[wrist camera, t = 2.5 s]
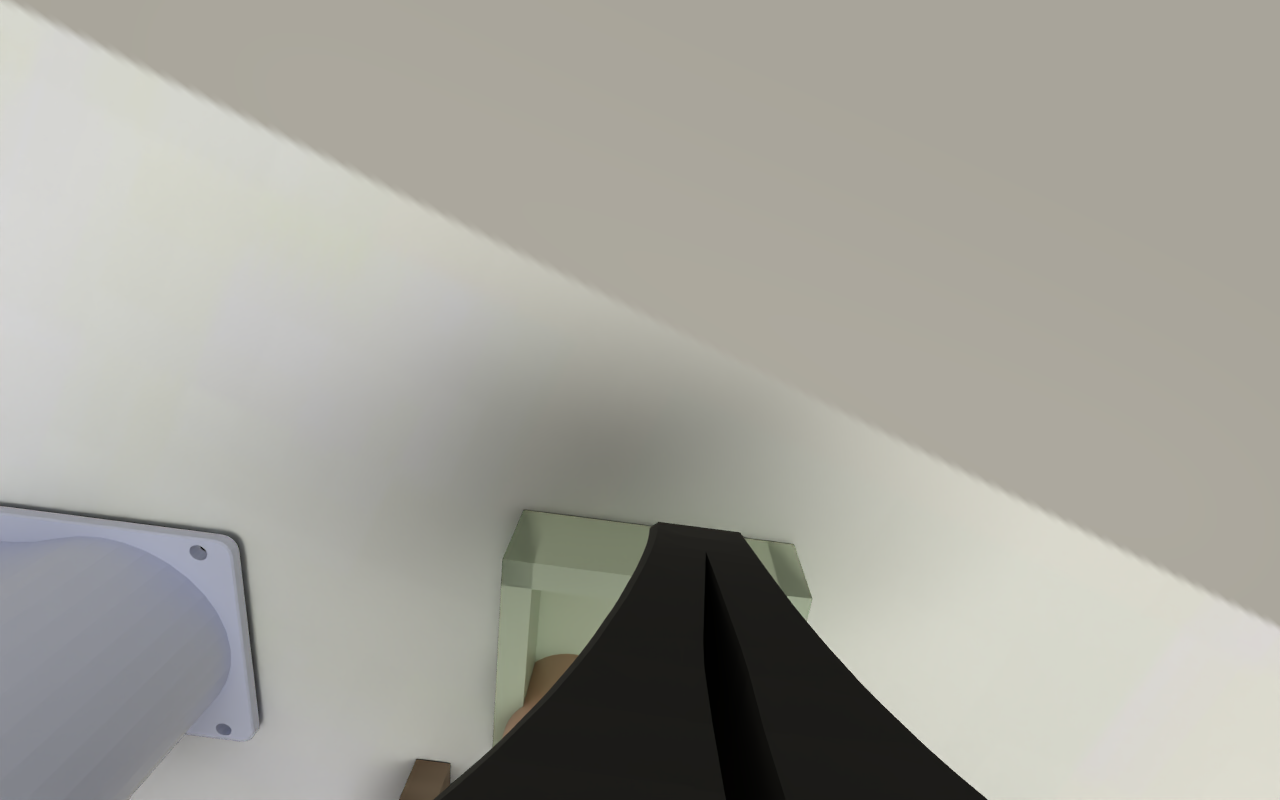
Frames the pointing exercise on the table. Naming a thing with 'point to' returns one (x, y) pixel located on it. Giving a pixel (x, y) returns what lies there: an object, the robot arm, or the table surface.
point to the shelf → (426, 780)
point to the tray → (579, 598)
